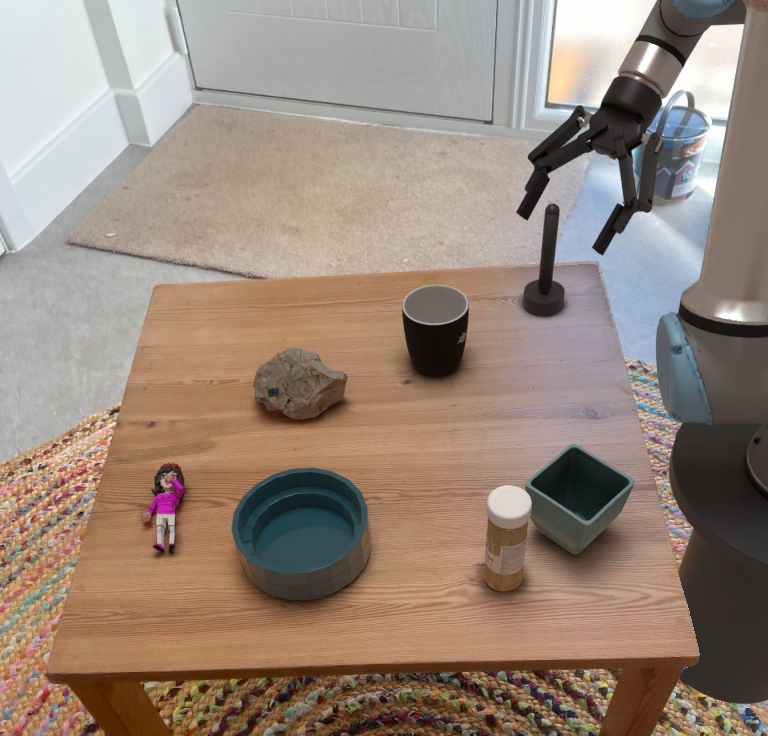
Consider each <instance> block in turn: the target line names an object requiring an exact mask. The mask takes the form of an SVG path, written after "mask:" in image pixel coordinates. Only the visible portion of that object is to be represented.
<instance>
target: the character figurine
mask: <svg viewBox="0 0 768 736" xmlns="http://www.w3.org/2000/svg"><path fill="white" fill-rule="evenodd" d="M179 465H180V464H179V463H174V462H167V463H162V465H161V466H159V469H158V470H157V472H156V474H155V475H154V476H153V478H154V480H153V481H154V483H153V484H154V488H151V489H150V491H151V493H152V494H153V495H154V496H155V497H154V498H153V500H152V502H151V504H150V505H149V507H148V510H147V511H145V512H143V514H142V516H141V519H142V520H143V521H142V522H143V523H147V522H150V521H151V519H152V515H153V513H154V511H155V523H156V525H155V526H156V541H157V542H156V543H153V544H152V548H153V549H155V551H157V552H159V554H160V553H164V552H165V550H166V549H165V541H166V539H165V530H166V529H167V531H168V532H169V541H168V553H174V550H175V537H176V530H175V529H176V528H175V527H176V525H175V523H176V522H175V521H176V508H178V507H179V505H180V504H179V503H180V501H181V500H182V498H183V497H185V494H184V490H185V476H184V474H183V472H182V467H181V466H179ZM155 509H156V510H155Z"/></svg>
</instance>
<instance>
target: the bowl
mask: <svg viewBox="0 0 768 736" xmlns="http://www.w3.org/2000/svg"><path fill="white" fill-rule="evenodd" d="M371 533H372V532H371V524H370V517H369V508H368V504H367V503H366V500H365V498H364V496H363V493H362V491H361V490H360V489H359V488H358V487H357V486H356V485H355V484H354V483H353V482H352V481H351V480H350V479H349V478H347V477H345V476H343V475H341V474H339V473H337V472H335V471H333V470H328V469H322V468H317V467H298V468H297V467H296V468H290V469H286V470H284V471H283V470H282V471H280V472H276V473H273V474H271V475H269V476H268V477H265V478H264V479H262V480H260V481H259V482H257V483H256V484H254V485H253V486H252V487H251V488H250V489H249V490H248V491H247V492H245V494H244V495H243V496H242V497H241V499H240V500H239V503H238V504H237V506H236V507H235V510H234V511H233V514H232V523H231V534H232V537H233V540H234V545H235V547H236V551H237V553H238V557H239V560H240V563H241V566H242V570H243V572H244V574H245V575H246V577H248V579H249V580H250V581H251V582H252V584H253V585H254V586H255V587H256V588H258V589H260V590H261V591H263V592H265V593H266V594H268V595H270V596H271V597H275V598H280V599H284V600H289V601H306V600H307V601H308V600H309V601H312V600H316V599H319V598H323V597H325V596H328V595H332V594H334V593H336V592H338V591H340V590H342V589H343V588H344V587H346V586H347V585H349V584H351V583H352V582H353V581H354V579H356V577H357V576H358V575H359V574H360V573H361V572H362V570H363V569H364V568H365V566H366V564H367V561H368V559H369V556H370V554H371V550H372V534H371Z"/></svg>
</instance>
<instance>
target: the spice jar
mask: <svg viewBox="0 0 768 736" xmlns="http://www.w3.org/2000/svg"><path fill="white" fill-rule="evenodd" d="M531 509H532V501H531V498H530V496H529V494H528V493H527V492H526V489H524V488H522V487H519V486H517V485H510V484H507V485H501V486H498V487H496V488H494V489H493V490H492V491H490V493H489V495H488V496H487V501H486V516H487V527H486V536H485V549H484V568H483V571H482V577H483V580H484V582H485V584H486V585H487V586H488V587H489V588H492V589H493V590H495V591H497V592H509V591H510V592H511V591H513V590H515V589H517V588H518V587H519V586H520V585H521V584H522V581H523V579H524V573H523V572H524V571H523V570H524V569H523V568H524V564H525V558H526V550H527V542H528V535H529V534H528V528H529V520H530V516H531Z"/></svg>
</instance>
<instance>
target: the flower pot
mask: <svg viewBox="0 0 768 736" xmlns="http://www.w3.org/2000/svg"><path fill="white" fill-rule="evenodd" d="M635 484H636V480H635V479H634V478H633V477H632V476H630V475H628V474H626V473H625V472H623V471H621V470H619V469H618V468H616V467H614V466H613V465H611V464H610V463H608V462H606V461H604V459H602V458H600V457H598V456H597V455H595V454H594V453H592V452H590V451H588V450H587V449H586V448H584V447H582V446H581V445H579V444H576V443H571V444H569V445H567V446H566V447H565V448H564V449H563V450H562V451H560V452H559V453H558V454H557V455H556V456H554V458H552V459H551V460H550V461H548V463H546V465H544V466H543V467H542V468H541V469H539V470H538V471H537V472H535V473H534V475H532V476H531V477H529V478H528V479H527V480H526V482H525V483H524V486H525V491H526V492H527V493H528V494H529V496H530V498H531V501H532V509H531V516H530V518H529V520H530V521H531V522H532V524H533V526H535V528H536V529H537V530H538V531H539V532H540V533H541V534H542V535H544V536H545V537H546V538H548V539H549V540H551V541H552V542H554V543H555V544H557V545H558V546H560V547H561V548H562V549H564V550H565V551H567V552H568V553H570V554H572V555H577V554H580V553H581V552H582V551H583V550H584V549H586V547H588V545H590V544H591V543H592V542H593V541H594V540H595V539H596V538H597V537H598V536H599V535H600V534H601V533H603V532H604V531H605V529H607V528H608V527H609V526H610V525H611V524H612V523H613V522H614V521H615V520H616V519H617V518H618V517H619V515H620V514H621V513H622V511H623V509H624V507H625V505H626V504H627V501H628V499H629V497H630V495H631V493H632V490H633V488H634V486H635Z"/></svg>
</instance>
